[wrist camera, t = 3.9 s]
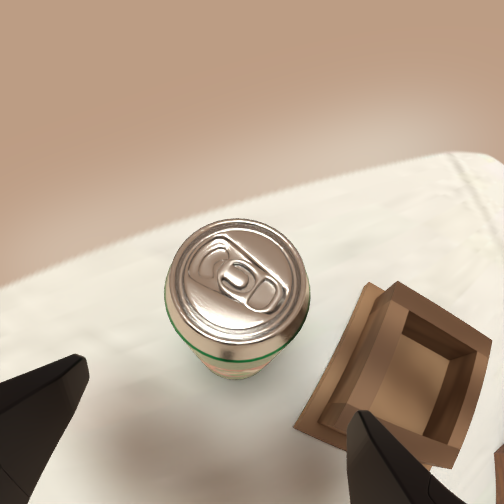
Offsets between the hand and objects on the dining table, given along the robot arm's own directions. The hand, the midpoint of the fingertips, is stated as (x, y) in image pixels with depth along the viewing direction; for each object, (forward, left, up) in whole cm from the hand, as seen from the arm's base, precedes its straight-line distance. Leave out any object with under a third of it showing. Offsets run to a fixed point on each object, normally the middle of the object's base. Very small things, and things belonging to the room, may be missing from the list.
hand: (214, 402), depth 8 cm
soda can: (+3, -2, -11) cm, 12 cm away
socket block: (-6, -11, -11) cm, 17 cm away
